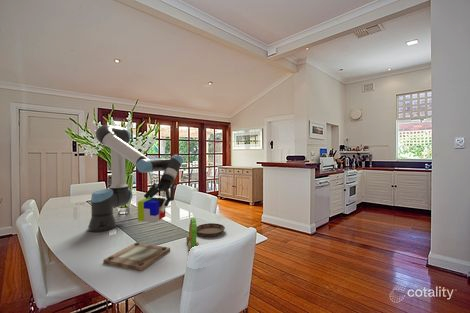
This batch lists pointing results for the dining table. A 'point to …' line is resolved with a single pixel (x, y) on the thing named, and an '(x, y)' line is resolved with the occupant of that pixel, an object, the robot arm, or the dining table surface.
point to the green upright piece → (192, 234)
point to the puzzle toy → (150, 209)
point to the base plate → (137, 256)
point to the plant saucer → (210, 229)
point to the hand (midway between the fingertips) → (152, 210)
